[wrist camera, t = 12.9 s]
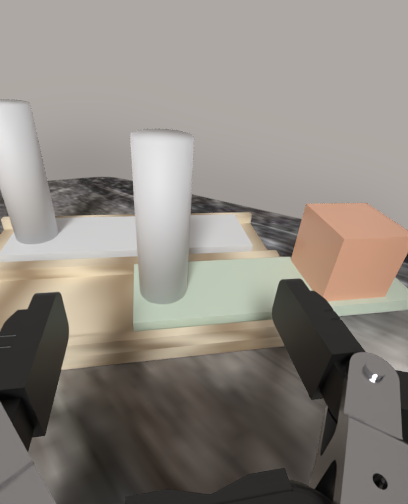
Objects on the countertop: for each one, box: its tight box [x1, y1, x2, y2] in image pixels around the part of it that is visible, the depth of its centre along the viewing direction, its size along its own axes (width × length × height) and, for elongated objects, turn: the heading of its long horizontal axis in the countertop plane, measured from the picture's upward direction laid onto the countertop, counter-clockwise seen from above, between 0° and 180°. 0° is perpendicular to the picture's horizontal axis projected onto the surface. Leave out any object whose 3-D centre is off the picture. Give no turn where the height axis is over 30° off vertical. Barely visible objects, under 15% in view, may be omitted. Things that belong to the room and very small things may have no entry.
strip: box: [0, 99, 253, 262], centre depth 24 cm, size 20×6×11 cm, turn 100°
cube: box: [291, 203, 408, 301], centre depth 22 cm, size 5×5×5 cm
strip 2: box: [130, 129, 408, 332], centre depth 20 cm, size 20×6×11 cm, turn 100°
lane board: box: [0, 212, 285, 370], centre depth 24 cm, size 24×16×2 cm, turn 100°
